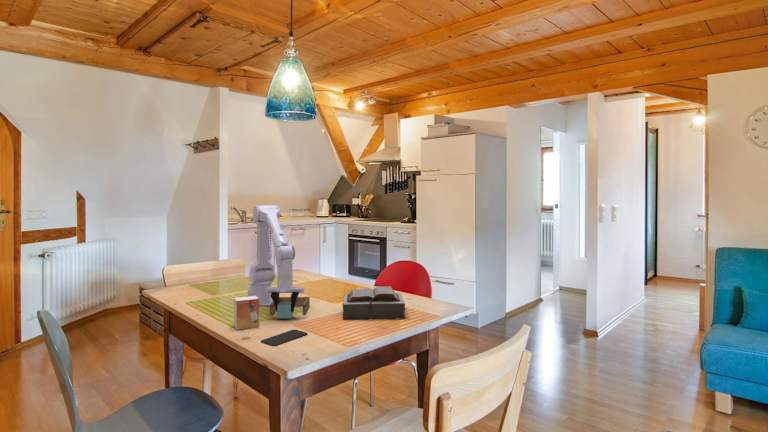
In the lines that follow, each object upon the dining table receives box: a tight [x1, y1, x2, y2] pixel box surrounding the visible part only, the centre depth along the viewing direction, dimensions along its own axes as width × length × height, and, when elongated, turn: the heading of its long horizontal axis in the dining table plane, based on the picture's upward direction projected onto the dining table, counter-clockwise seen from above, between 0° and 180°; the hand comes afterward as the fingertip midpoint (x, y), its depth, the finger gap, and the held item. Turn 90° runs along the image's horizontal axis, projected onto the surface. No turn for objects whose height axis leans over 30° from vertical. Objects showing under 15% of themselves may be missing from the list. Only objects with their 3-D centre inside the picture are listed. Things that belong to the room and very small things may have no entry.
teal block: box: [276, 302, 294, 319], centre depth 167 cm, size 5×5×5 cm
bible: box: [341, 285, 406, 321], centre depth 176 cm, size 23×27×10 cm
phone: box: [260, 329, 308, 347], centre depth 145 cm, size 7×1×15 cm
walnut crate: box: [269, 296, 311, 316], centre depth 179 cm, size 14×14×4 cm
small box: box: [233, 296, 260, 331], centre depth 157 cm, size 8×6×10 cm
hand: (285, 311), depth 167 cm, fingers closed on teal block, 5 cm apart
